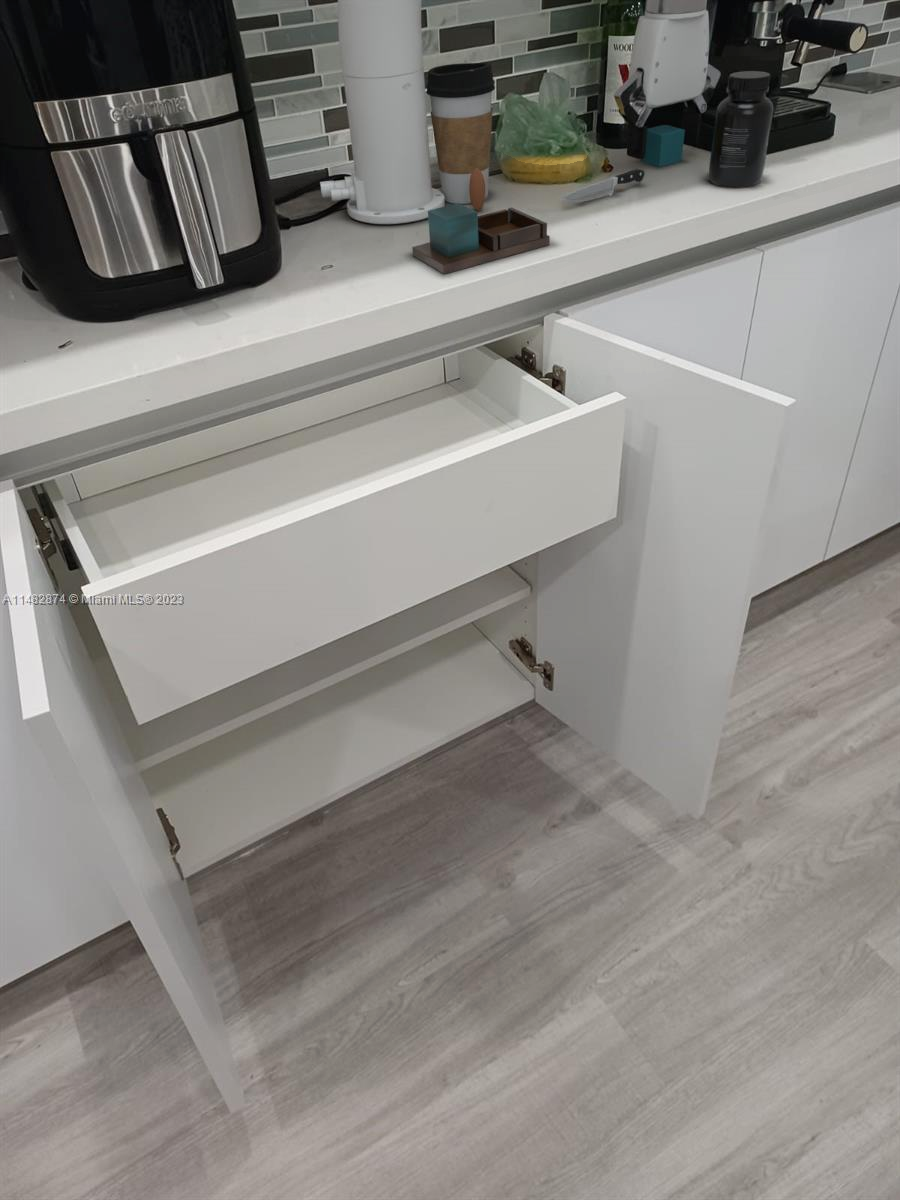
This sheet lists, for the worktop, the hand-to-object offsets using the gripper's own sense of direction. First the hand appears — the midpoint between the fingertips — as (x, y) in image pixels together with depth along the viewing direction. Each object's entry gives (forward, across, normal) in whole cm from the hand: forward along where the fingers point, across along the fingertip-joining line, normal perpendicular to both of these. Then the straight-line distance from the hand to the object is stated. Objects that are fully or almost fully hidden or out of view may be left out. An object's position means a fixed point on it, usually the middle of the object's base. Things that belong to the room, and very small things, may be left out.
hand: (662, 150), depth 120 cm
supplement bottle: (+2, -1, +13) cm, 13 cm away
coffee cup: (+2, +29, -5) cm, 30 cm away
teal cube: (+1, 0, 0) cm, 1 cm away
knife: (+2, +16, +7) cm, 17 cm away
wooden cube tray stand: (+1, +38, +13) cm, 40 cm away
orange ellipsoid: (+2, +31, +1) cm, 31 cm away
